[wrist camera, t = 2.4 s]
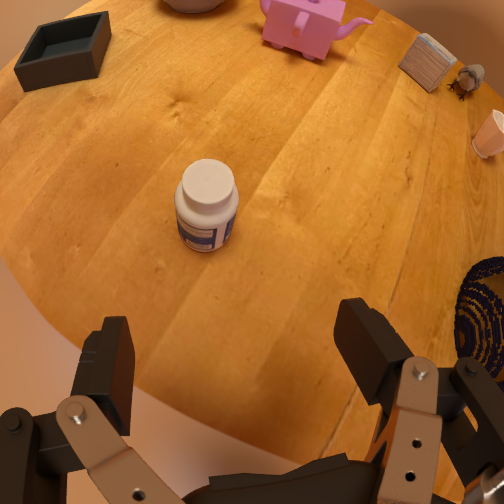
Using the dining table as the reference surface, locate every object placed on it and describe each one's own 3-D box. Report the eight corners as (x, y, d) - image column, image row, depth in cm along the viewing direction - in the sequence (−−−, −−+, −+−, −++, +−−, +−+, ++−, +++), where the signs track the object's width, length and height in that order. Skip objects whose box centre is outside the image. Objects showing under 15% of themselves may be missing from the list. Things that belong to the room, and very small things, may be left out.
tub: (24, 92, 35) (13, 68, 30) (45, 47, 38) (38, 25, 33) (97, 77, 37) (91, 50, 32) (111, 35, 41) (108, 10, 36)
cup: (460, 137, 46) (487, 112, 38) (480, 127, 49) (503, 104, 41) (483, 170, 44) (512, 147, 37) (500, 155, 47) (526, 135, 40)
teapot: (314, 22, 49) (330, -22, 39) (353, 65, 46) (378, 17, 36) (239, 25, 45) (248, -27, 35) (273, 71, 42) (290, 12, 32)
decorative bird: (478, 87, 55) (495, 68, 48) (462, 105, 49) (482, 83, 42) (463, 71, 55) (478, 51, 48) (443, 86, 50) (462, 63, 43)
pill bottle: (212, 195, 34) (219, 140, 25) (240, 235, 33) (257, 190, 24) (168, 220, 33) (159, 170, 24) (196, 263, 32) (195, 225, 23)
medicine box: (436, 87, 49) (458, 59, 41) (428, 94, 48) (452, 64, 40) (405, 61, 50) (425, 31, 42) (396, 66, 49) (417, 34, 41)
